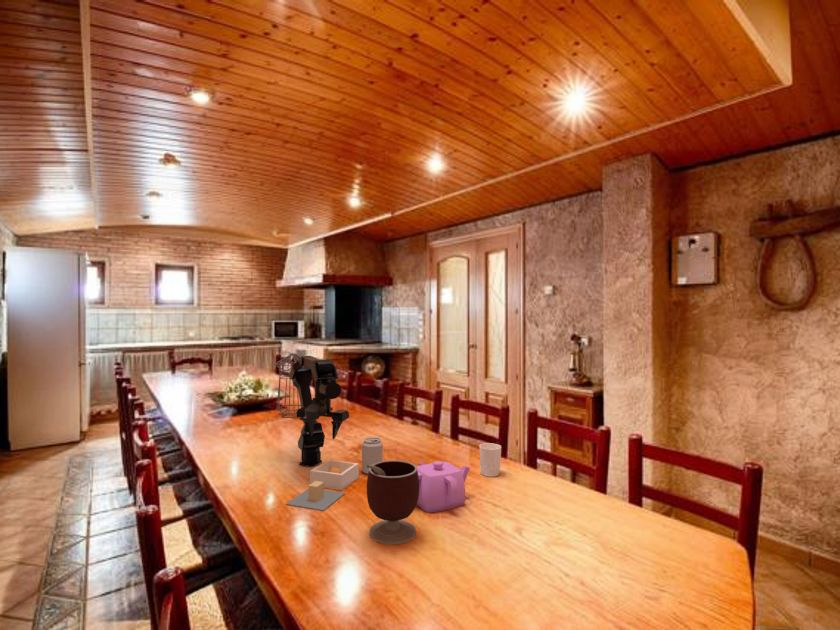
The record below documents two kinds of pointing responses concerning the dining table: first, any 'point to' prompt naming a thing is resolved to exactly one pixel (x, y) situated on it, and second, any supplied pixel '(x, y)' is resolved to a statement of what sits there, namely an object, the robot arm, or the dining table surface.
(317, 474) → the box
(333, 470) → the ball
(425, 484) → the teakettle
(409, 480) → the mate gourd
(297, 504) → the lid
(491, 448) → the white cup
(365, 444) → the can
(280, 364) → the geometric lantern
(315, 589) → the dining table surface
